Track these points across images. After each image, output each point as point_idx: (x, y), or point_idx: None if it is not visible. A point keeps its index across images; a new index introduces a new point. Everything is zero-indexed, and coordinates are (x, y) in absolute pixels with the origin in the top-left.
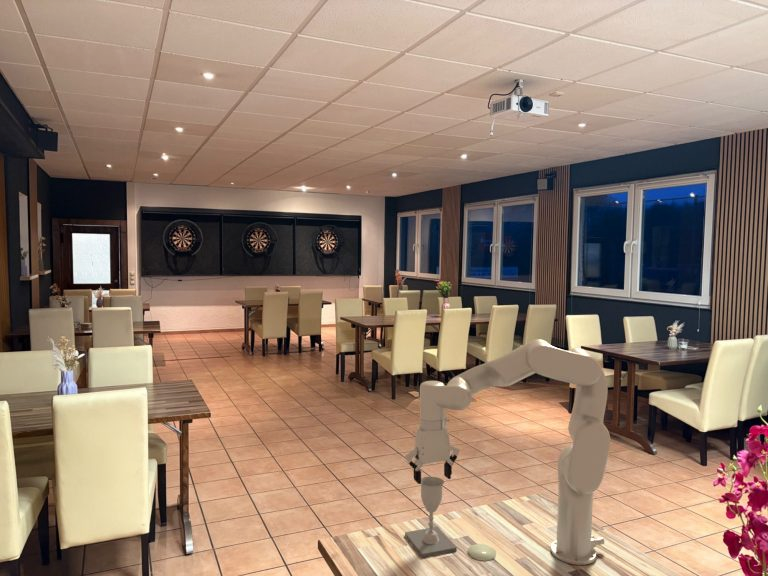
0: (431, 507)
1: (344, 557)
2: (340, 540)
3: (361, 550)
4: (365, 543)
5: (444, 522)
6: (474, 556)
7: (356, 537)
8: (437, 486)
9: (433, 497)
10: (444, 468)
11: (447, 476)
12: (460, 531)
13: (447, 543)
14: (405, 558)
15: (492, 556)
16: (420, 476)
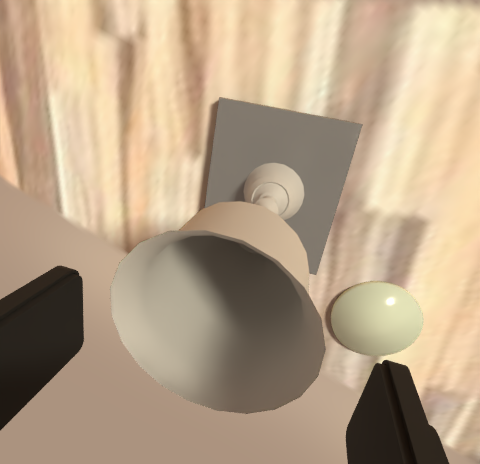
0: (227, 273)
1: (4, 121)
2: (6, 8)
3: (56, 110)
4: (78, 75)
5: (437, 83)
6: (332, 326)
7: (60, 16)
8: (209, 398)
9: (212, 323)
10: (392, 443)
11: (352, 434)
12: (430, 183)
13: (307, 242)
14: (158, 219)
15: (379, 352)
16: (22, 401)
